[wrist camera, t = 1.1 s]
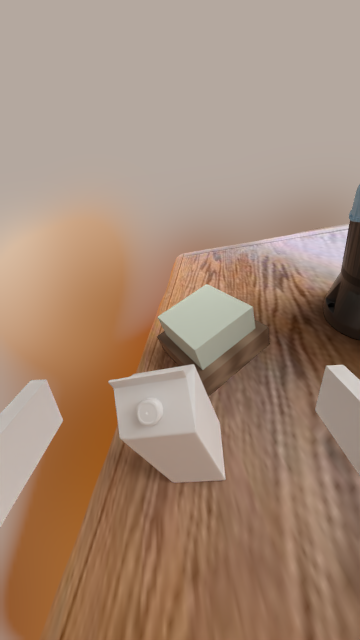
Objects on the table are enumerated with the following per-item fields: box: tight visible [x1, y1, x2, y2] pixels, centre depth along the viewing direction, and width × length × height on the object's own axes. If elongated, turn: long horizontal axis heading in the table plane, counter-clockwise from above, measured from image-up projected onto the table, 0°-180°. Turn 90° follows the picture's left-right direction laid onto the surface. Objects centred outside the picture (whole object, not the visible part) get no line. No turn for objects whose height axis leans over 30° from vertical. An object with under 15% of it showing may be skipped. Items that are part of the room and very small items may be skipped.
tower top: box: [158, 284, 255, 370], centre depth 40 cm, size 12×12×5 cm
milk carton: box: [109, 364, 226, 483], centre depth 26 cm, size 7×7×19 cm
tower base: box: [157, 320, 270, 396], centre depth 43 cm, size 15×15×5 cm
